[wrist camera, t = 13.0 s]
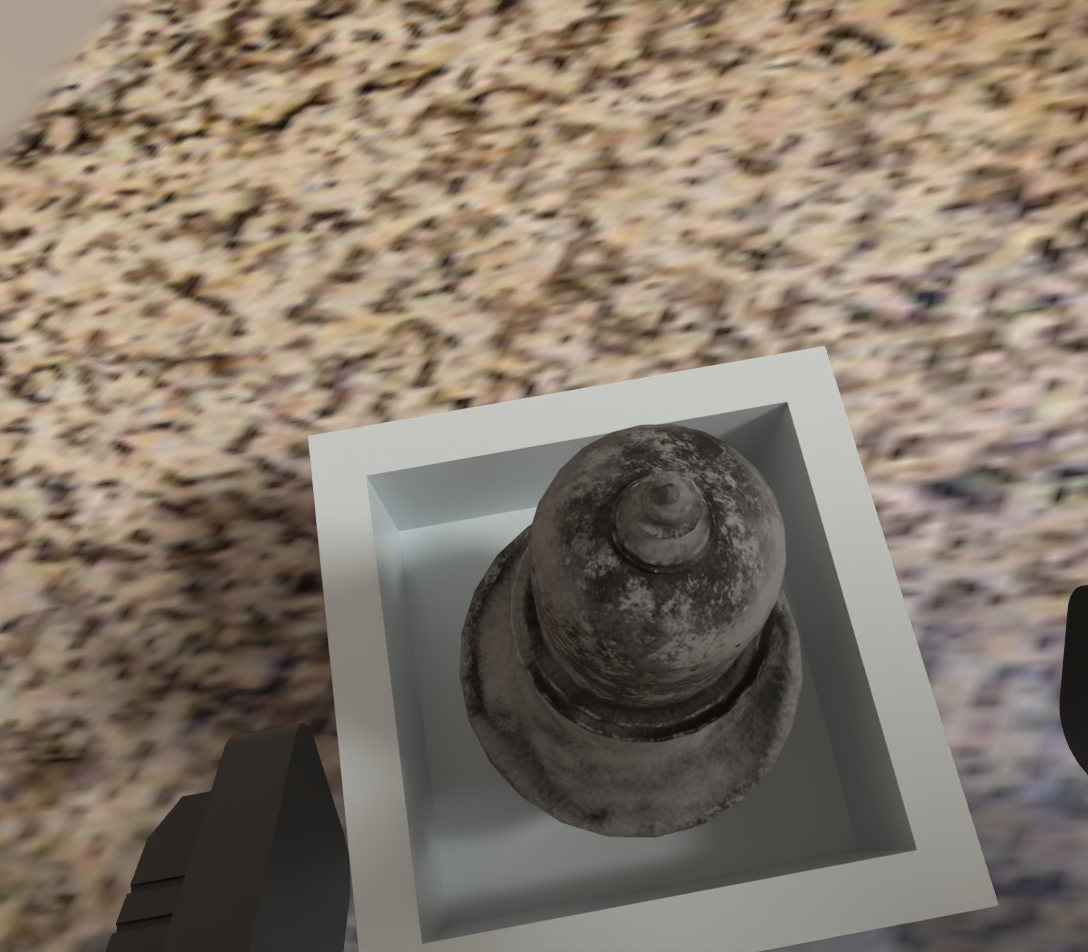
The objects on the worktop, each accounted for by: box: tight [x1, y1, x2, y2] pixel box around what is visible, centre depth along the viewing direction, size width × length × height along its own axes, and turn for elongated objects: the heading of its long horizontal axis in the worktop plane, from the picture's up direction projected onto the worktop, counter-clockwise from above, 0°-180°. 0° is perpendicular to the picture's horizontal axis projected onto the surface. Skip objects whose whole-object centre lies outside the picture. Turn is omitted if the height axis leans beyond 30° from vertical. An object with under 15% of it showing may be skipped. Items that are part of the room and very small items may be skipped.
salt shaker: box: [459, 424, 803, 838], centre depth 15 cm, size 6×6×12 cm
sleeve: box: [308, 346, 999, 952], centre depth 19 cm, size 10×10×4 cm
